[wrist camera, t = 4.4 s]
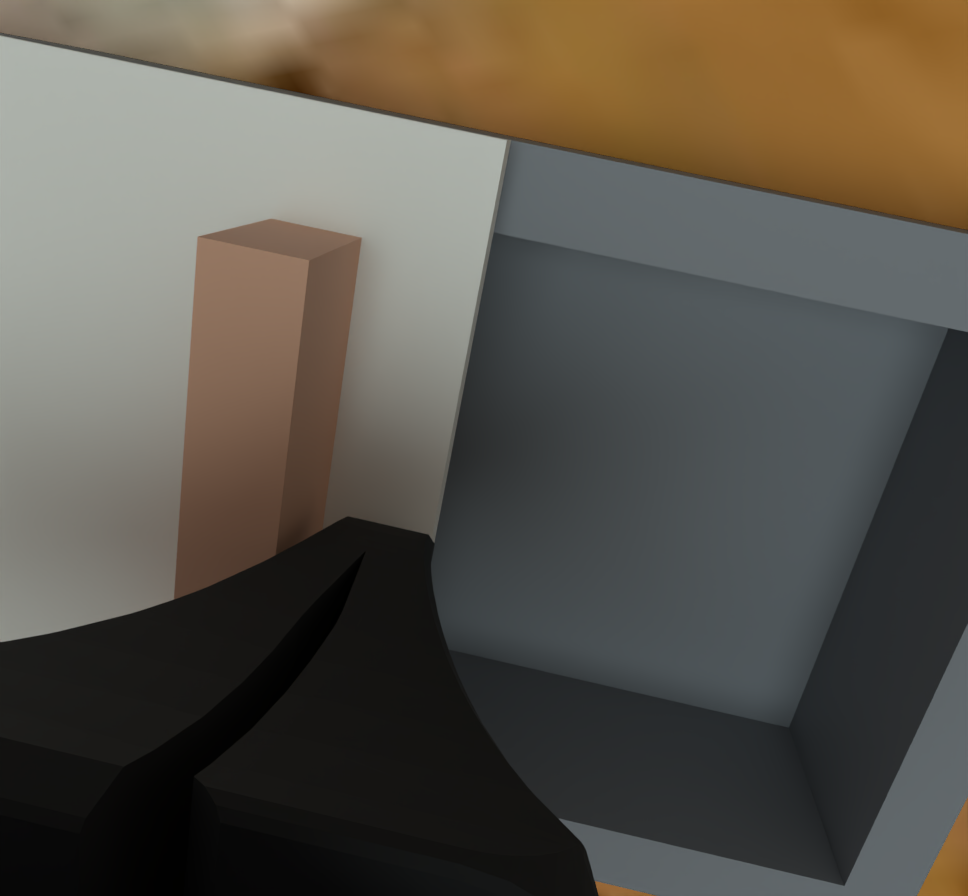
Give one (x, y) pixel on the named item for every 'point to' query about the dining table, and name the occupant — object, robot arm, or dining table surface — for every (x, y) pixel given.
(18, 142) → the lid
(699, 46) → the dining table surface
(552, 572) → the gray open box
